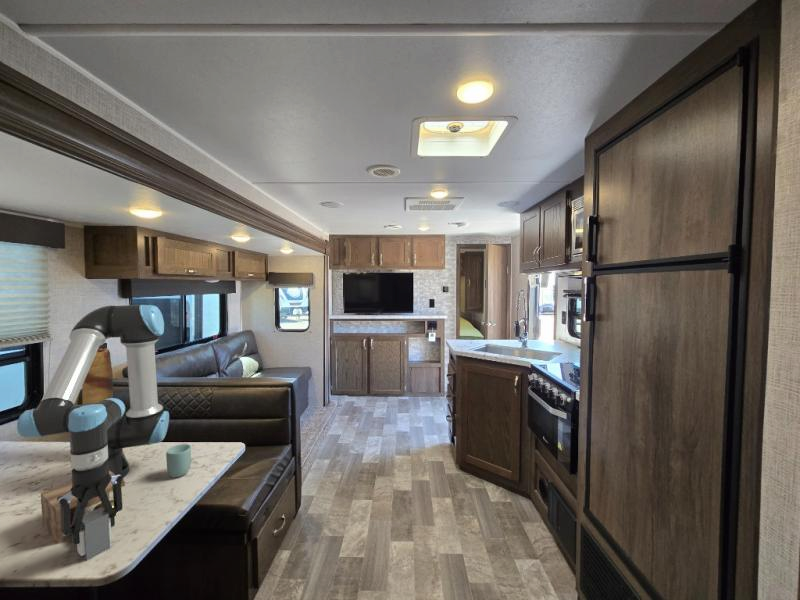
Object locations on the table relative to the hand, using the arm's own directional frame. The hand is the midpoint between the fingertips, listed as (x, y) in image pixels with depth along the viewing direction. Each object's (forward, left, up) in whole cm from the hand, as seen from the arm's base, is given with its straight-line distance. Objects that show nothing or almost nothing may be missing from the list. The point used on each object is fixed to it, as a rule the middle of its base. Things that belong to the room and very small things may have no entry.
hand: (94, 545), depth 95 cm
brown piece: (-19, +4, -1) cm, 19 cm away
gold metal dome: (-16, +8, -1) cm, 17 cm away
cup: (-20, +32, -1) cm, 37 cm away
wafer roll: (-64, +22, -1) cm, 68 cm away
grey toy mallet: (-5, 0, -1) cm, 5 cm away
